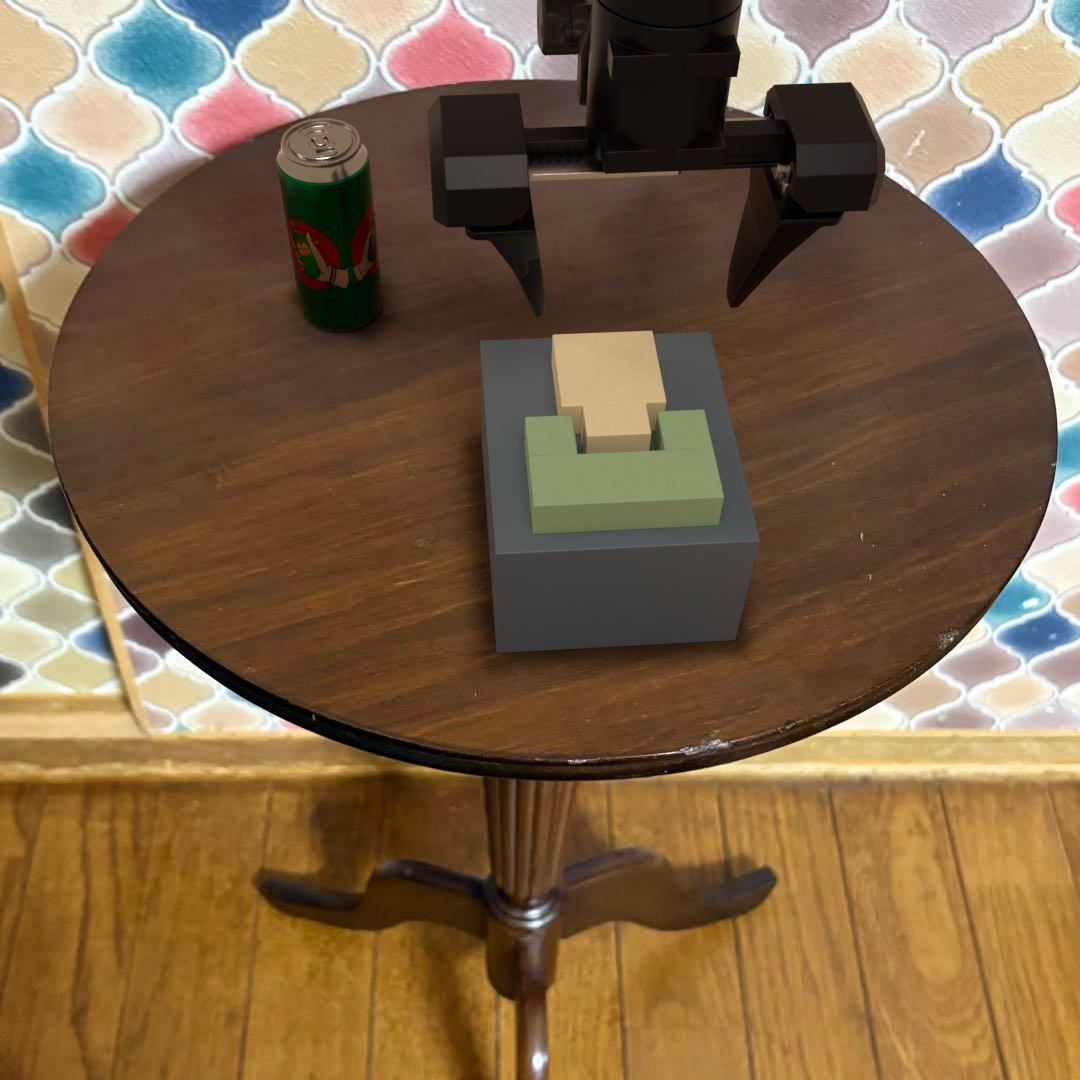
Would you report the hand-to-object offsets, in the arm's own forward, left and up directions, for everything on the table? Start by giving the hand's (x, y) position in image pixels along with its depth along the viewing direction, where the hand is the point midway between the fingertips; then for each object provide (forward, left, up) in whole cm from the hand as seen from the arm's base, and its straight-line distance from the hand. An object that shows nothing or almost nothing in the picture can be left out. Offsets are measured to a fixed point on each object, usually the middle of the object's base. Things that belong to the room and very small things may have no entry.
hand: (636, 306), depth 61 cm
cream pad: (+1, +1, -5) cm, 5 cm away
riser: (+1, +4, -13) cm, 13 cm away
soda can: (+15, -15, -13) cm, 25 cm away
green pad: (+1, +7, -5) cm, 8 cm away
